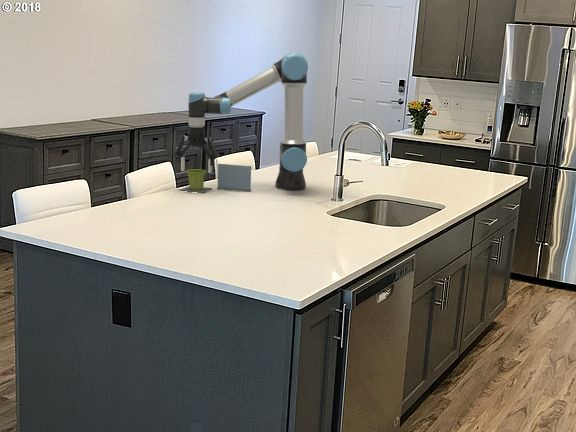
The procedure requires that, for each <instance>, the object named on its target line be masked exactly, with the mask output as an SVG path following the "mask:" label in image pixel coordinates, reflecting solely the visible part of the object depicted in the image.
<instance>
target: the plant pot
mask: <svg viewBox="0 0 576 432" xmlns="http://www.w3.org/2000/svg"><path fill="white" fill-rule="evenodd" d="M186 172H187V176H188V186H189V187H190V189H192V190H199V189H200V190H202V189H203V187H204V182H205V177H206V173H207V172H208V170H205V169H199V168H198V169H195V168H192V169H187V170H186Z"/></svg>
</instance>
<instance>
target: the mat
mask: <svg viewBox="0 0 576 432" xmlns="http://www.w3.org/2000/svg"><path fill="white" fill-rule="evenodd" d="M211 189H212V190H213V187H204V186H203V189H202V190H200V189H199V190H192V189H190V187H189V185H187V186H186V187H183V188H180V189H179V190H180V191H187V192H186V193H192V192H197V193H196V194H206V193H207V191H208V192H209V190H210V191H212V190H211ZM180 191H179V192H180Z"/></svg>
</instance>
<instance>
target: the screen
mask: <svg viewBox="0 0 576 432" xmlns="http://www.w3.org/2000/svg"><path fill="white" fill-rule="evenodd" d="M251 179H252V165H242V164H227V163H217V187H216V189H217V190H220V189H224V190H223V191H232V190H234V191H236V192H246V193H250V192H252V189H251V188H252V187H251V186H252V185H251V184H252V180H251Z"/></svg>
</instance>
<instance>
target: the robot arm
mask: <svg viewBox="0 0 576 432" xmlns="http://www.w3.org/2000/svg"><path fill="white" fill-rule="evenodd" d="M308 69H309V65H308V61H307V59H306V57H304V56H303V55H302V54H300V53H298V52H291V53H288V54H286V55H285V56H283V57H282V58H281V59H279V61H276V62H274V63H272V65H271V67H270V68H268V69H265V70H264V71H262V72H260V73H259V74H256V75H254V76H252V77H250V78H249V79H247V80H245V81H243V82H241V83H239V84H237V85H235V86H233V87H232V88H230V89H228V90H225V91H224V92H222V93H220V94H217V95H215V96H214V97H210V96H209V97H207V96H206V93H205V92H197V91H196V92H190V93H189V95H188V126H189V127H188V136H186V135H183V136H181V141H180V143H179V145H178V147H177V149H176V152H175V153H174V154H175V156H178V159H179V161H178V163H179V164H180V171H181V172H184V171H186V170H185V169H186V168H185V167H186V165H185V164H186V161H185V160H186V159H185V158H186V157H185V156H184V155H185V154H186V153H187V151H188V150H190V148H191V147H198V148H202V150H203V151H204V152H205V154H206V155H207V156H208V160H207V161H208V162H207V163H208V167H207V168H208V170H207V172H208V174H211V173H213V166H214V164H215V159H217V158H218V157H219V155H218V153H217V151H216V148H215V146H214V144H213V141H212V137H210V136H209V137H206V135H205V134H206V128H205V126H206V114H207V115H209V114H211V115H213V114H214V115H230V114H231V112H232V111H231V110H232V107H234V105H237V104H239V103H240V102H242V101H245V100H247V99H249V98H250V97H252V96H255V95H257V94H258V93H261V92H262V91H264V90H266V89H268V88H270V87H273V85H275V84H277V83H281V84H282V85H283V87H284V139H282V141H280V143H279V165H278V167H279V168H278V169H279V170H278V174H277V177H276V180H275V184H274V188H276V189H278V190H285V191H300V190H306V188H307V182H306V179H305V178H306V177H305V176H304V168H305V167H306V165H307V162H308V156H307V141H306V140H305V139H304V87H305V86H306V85H307V84H308V83H307V81H308ZM186 141H188V144H186ZM205 142H206V143H205ZM185 144H186V146H185ZM207 145H208V147H207ZM184 146H185V147H184ZM183 147H184V149H183ZM209 149H210V150H209Z"/></svg>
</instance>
